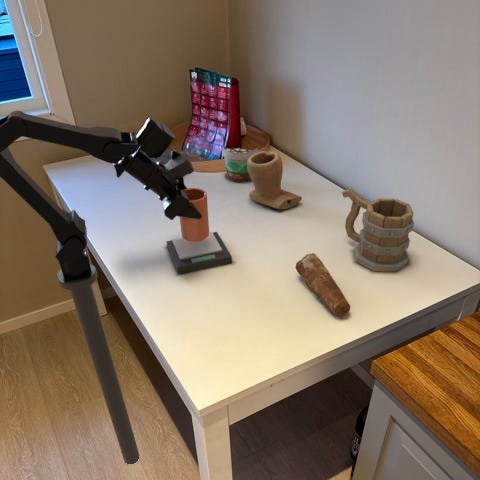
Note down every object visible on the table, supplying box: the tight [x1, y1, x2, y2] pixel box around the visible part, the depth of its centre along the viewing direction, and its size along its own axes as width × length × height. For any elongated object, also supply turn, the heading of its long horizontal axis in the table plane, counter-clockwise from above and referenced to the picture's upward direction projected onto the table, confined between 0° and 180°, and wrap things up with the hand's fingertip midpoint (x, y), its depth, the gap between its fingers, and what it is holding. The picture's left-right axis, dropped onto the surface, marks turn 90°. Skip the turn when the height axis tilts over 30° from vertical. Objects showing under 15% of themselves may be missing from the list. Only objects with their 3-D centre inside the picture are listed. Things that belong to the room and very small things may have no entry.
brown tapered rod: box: [295, 252, 351, 317], centre depth 111 cm, size 6×19×6 cm, turn 18°
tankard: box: [341, 188, 415, 272], centre depth 121 cm, size 20×13×15 cm, turn 41°
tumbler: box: [179, 187, 210, 242], centre depth 120 cm, size 7×7×11 cm
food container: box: [221, 144, 260, 183], centre depth 157 cm, size 12×6×10 cm, turn 73°
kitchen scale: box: [165, 231, 233, 275], centre depth 126 cm, size 14×13×3 cm
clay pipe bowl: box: [247, 150, 303, 210], centre depth 142 cm, size 15×12×15 cm
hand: (198, 210), depth 119 cm, fingers closed on tumbler, 7 cm apart
